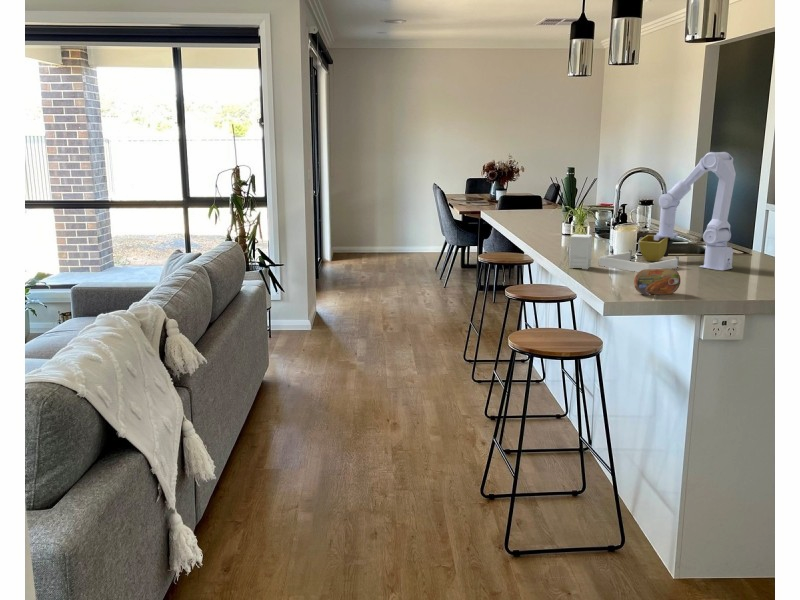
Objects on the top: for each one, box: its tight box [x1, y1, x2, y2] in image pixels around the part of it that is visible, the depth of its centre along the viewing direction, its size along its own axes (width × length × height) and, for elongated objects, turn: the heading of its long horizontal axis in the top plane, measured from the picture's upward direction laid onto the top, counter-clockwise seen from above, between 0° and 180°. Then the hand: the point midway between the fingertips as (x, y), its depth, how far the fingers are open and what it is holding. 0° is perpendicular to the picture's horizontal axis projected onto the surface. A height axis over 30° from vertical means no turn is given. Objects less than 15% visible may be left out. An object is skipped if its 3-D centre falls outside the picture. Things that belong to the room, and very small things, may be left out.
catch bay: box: [598, 249, 680, 273], centre depth 272 cm, size 22×21×4 cm
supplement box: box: [568, 233, 593, 270], centre depth 269 cm, size 7×7×13 cm
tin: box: [633, 268, 681, 296], centre depth 223 cm, size 15×3×8 cm, turn 100°
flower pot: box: [638, 234, 668, 262], centre depth 284 cm, size 9×9×9 cm
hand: (664, 256), depth 287 cm, fingers closed
